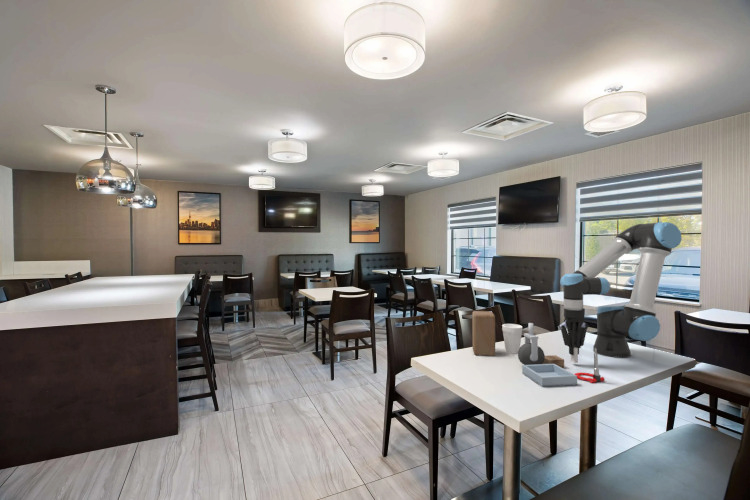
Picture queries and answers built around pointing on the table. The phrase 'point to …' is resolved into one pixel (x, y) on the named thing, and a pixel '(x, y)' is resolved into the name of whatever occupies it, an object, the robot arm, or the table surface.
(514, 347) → the foam cup
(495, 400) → the table surface
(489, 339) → the wooden block
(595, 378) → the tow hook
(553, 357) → the block
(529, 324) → the trolley wheel
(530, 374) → the tray
